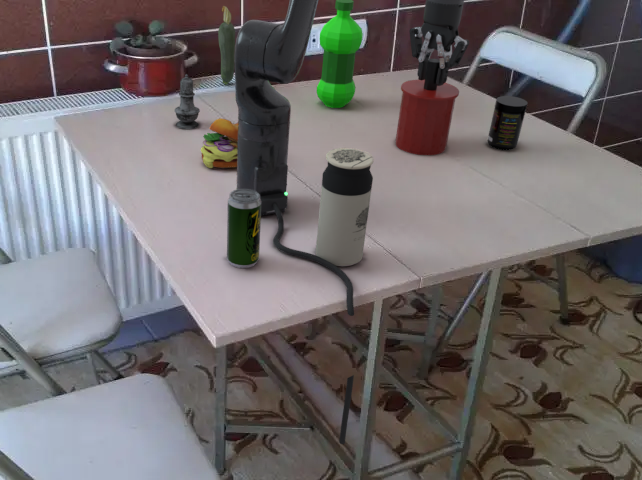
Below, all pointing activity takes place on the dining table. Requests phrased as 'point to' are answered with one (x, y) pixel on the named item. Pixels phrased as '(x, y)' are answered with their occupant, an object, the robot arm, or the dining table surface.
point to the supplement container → (506, 122)
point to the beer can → (243, 228)
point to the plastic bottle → (339, 56)
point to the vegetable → (227, 47)
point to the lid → (430, 86)
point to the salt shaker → (187, 105)
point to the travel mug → (344, 206)
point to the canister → (424, 125)
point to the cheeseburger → (221, 145)
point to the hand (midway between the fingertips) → (431, 81)
